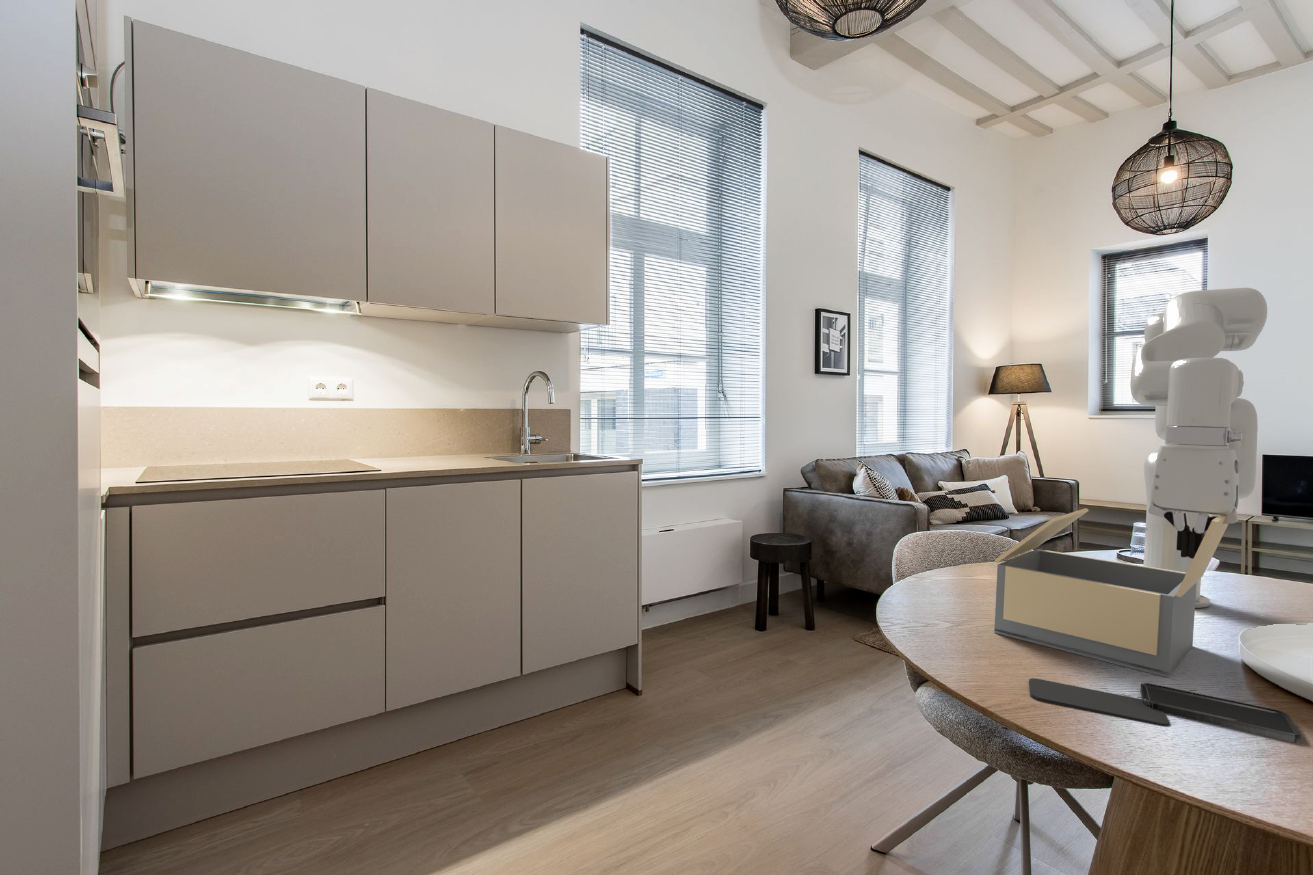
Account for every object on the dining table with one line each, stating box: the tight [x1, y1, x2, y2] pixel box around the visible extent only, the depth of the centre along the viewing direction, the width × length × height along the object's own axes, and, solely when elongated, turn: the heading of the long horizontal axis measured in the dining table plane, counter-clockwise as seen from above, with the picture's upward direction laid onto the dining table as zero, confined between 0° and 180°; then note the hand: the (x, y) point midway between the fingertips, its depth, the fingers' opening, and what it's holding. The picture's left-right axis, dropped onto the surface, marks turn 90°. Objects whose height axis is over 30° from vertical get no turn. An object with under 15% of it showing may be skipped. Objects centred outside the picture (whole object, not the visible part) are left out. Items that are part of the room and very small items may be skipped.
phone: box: [1028, 678, 1171, 727], centre depth 85 cm, size 7×1×15 cm
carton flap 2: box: [1176, 515, 1229, 597], centre depth 98 cm, size 20×12×1 cm
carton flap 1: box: [994, 507, 1090, 564], centre depth 115 cm, size 20×12×1 cm
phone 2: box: [1139, 682, 1301, 743], centre depth 83 cm, size 8×1×15 cm
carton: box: [993, 548, 1197, 679], centre depth 109 cm, size 21×24×12 cm
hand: (1189, 556), depth 100 cm, fingers closed
